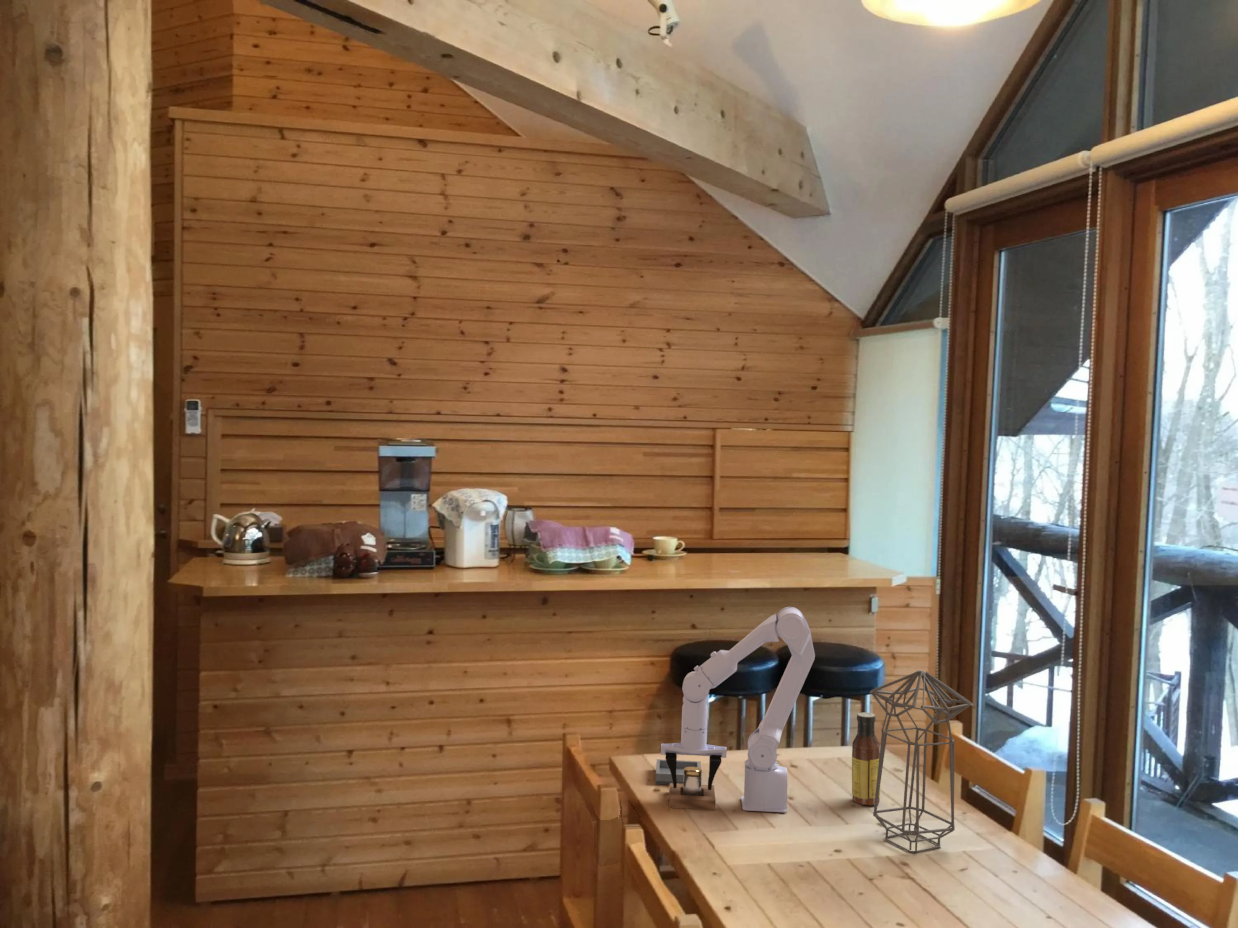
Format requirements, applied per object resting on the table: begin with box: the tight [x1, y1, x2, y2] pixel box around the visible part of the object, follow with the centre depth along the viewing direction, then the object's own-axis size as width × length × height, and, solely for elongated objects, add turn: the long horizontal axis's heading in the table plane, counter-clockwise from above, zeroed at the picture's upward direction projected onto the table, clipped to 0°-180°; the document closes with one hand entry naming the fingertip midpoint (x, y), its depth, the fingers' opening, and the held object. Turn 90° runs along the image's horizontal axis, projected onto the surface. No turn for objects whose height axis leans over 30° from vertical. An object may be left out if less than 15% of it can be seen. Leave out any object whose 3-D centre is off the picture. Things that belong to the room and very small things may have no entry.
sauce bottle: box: [851, 711, 881, 807], centre depth 228 cm, size 6×6×20 cm
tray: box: [655, 758, 702, 786], centre depth 240 cm, size 11×11×2 cm
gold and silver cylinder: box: [683, 767, 703, 796], centre depth 225 cm, size 4×4×7 cm
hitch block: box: [668, 783, 717, 811], centre depth 225 cm, size 10×10×2 cm
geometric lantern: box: [869, 669, 974, 854], centre depth 205 cm, size 16×16×35 cm
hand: (692, 787), depth 225 cm, fingers open, 7 cm apart
